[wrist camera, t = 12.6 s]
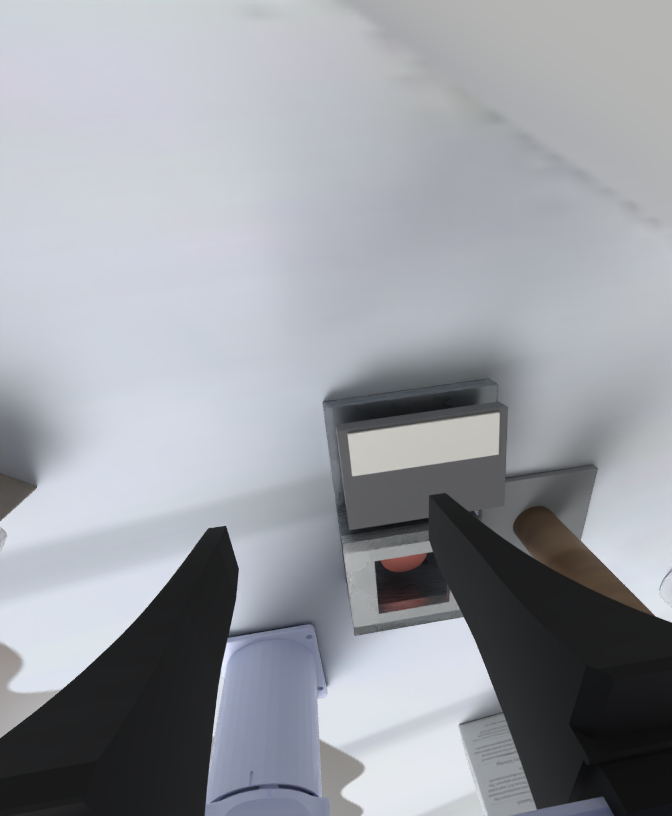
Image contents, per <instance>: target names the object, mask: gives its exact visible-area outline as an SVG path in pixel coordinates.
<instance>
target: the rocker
mask: <svg viewBox="0 0 672 816" xmlns="http://www.w3.org/2000/svg"><path fill="white" fill-rule="evenodd" d="M507 409H508V407H507V406H505V405H503V404H501V403H499V402H491V403H484V404H477V405H470V406H463V407H456V408H449V409H442V410H435V411H428V412H421V413H414V414H407V415H400V416H393V417H386V418H379V419H372V420H365V421H358V422H351V423H343V424H336V433H337V441H338V449H339V457H340V465H341V472H342V480H343V488H344V496H345V504H346V512H347V520H348V525H349V530H354V529H361V528H367V527H373V526H380V525H386V524H392V523H399V522H405V521H411V520H418V519H424V518H429V495H435V494H441V493H446V494H448V495H449V496H450V497H451V498H453V499H454V500H455V501H456V502H458V503H459V504H460V505H461V506H462V507H464V508H465V509H466V510H467V511H475V510H481V509H487V508H494V507H500V506H504V502H505V471H506V440H507Z"/></svg>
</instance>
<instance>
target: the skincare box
mask: <svg viewBox="0 0 672 816" xmlns="http://www.w3.org/2000/svg"><path fill="white" fill-rule="evenodd" d="M459 732H460V736H461V739H462V743H463V747H464V751H465V754H466V758H467V761H468V765H469V768H470V771H471V775H472V778H473V781H474V784H475V788H476V791H477V794H478V797H479V800H480V804H481V807H482V810H483V813H484V816H509V815H514V814H519V813H524V812H529V811H534V810H537V809H536V806H535V802H534V799H533V796H532V794H531V791H530V788H529V785H528V782H527V779H526V776H525V773H524V770H523V767H522V764H521V761H520V758H519V755H518V753H517V750H516V747H515V744H514V741H513V739H512V736H511V733H510V730H509V728H508V725H507V722H506V719H505V717H504V714H503V713H501V714H497V715H494V716H490V717H486V718H483V719H479V720H476V721H472V722H468V723H465V724H461V725H459Z"/></svg>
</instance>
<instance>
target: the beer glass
mask: <svg viewBox="0 0 672 816" xmlns="http://www.w3.org/2000/svg"><path fill="white" fill-rule="evenodd" d="M660 595H661V598H662V599H663V600H664V602H666V603H667V604H668V605H669V606H670V607H672V571H671V572H670V573H669V574H668V575H667V576H666V578H665V579H664V581H663V582H662V585H661V588H660Z"/></svg>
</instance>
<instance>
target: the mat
mask: <svg viewBox="0 0 672 816" xmlns="http://www.w3.org/2000/svg"><path fill="white" fill-rule="evenodd" d="M597 469H598V468H597V467H595V466H594V465H590V466H584V467H577V468H571V469H564V470H558V471H551V472H545V473H538V474H532V475H525V476H519V477H512V478H506V479H505V502H504V506H500V507H494V508H487V509H481V510H479V519H480V521H481V522H482V523H484V524H485V525H486V526H488V527H489V528H490V529H492V530H493V531H494V532H496V533H497V534H498V535H500V536H501V537H502V538H504V539H505V540H507V541H508V542H510V543H511V544H513V545H514V546H515V547H517V548H518V549H520V550H521V551H523V552H525V553H526V554H528V555H529V556H531V557H532V555H531V554H530V553H529V551H528V550H527V549H526V548H525V546H524V545H523V544H522V542H521V541H520V540H519V539H518V537H517V536H516V535H515V533H514V531H513V524H514V521H515V519H516V518H517V517H518V516H519V514H521V513H522V512H523V511H525V510H527V509H529V508H531V507H536V506H543V507H546V508H548V509H550V510H551V511H552V512H553V513H554V514H555V515H556V516H557V517H558V518H559V520H560V521H561V522H562V523H563V524H564V525H565V526H566V527H567V528H568V529H569V530H570V531H571V532H572V533H573V534H574V535H575V536H576V537H577V538H578V539H579V540H580V541H581V536H582V532H583V528H584V524H585V520H586V515H587V511H588V507H589V503H590V499H591V495H592V490H593V486H594V482H595V478H596V474H597Z"/></svg>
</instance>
